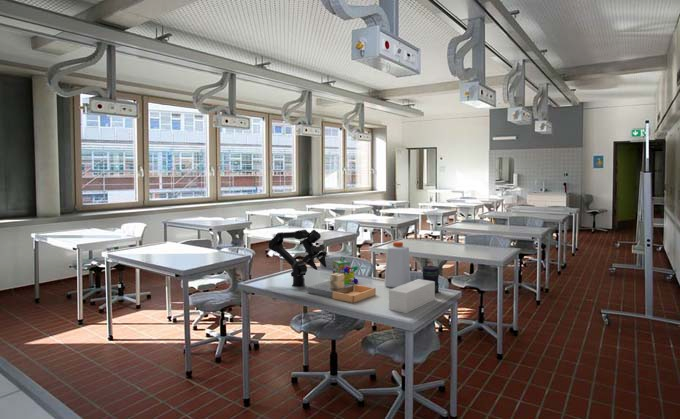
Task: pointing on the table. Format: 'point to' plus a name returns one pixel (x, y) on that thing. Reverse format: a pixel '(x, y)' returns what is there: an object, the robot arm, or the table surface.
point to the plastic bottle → (397, 265)
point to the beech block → (337, 281)
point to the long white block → (411, 295)
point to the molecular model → (350, 275)
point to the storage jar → (431, 275)
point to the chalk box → (341, 266)
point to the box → (355, 294)
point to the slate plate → (328, 289)
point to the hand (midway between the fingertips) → (321, 268)
